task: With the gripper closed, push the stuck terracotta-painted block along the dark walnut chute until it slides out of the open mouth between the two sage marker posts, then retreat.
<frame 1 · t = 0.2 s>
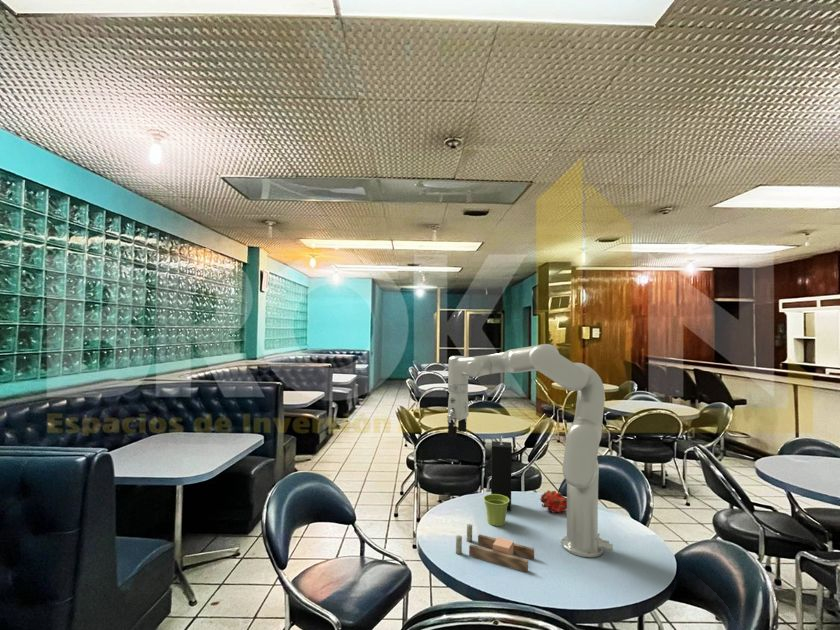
hand: (457, 433, 160), 31 cm above the table, fingers open, 9 cm apart
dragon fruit: (555, 511, 166), on the table
block: (503, 550, 131), point 2 cm above the table, slide at 0.0 cm
plant pot: (496, 523, 155), on the table
tall black pillar: (500, 506, 169), on the table
chute: (501, 557, 131), on the table
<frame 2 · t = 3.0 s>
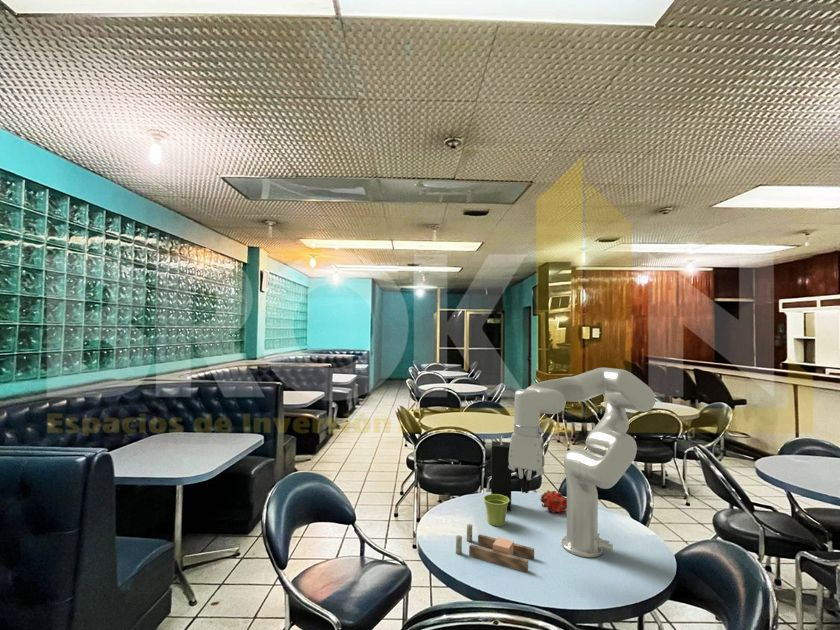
hand: (525, 491, 128), 22 cm above the table, fingers closed
nothing on the table moved.
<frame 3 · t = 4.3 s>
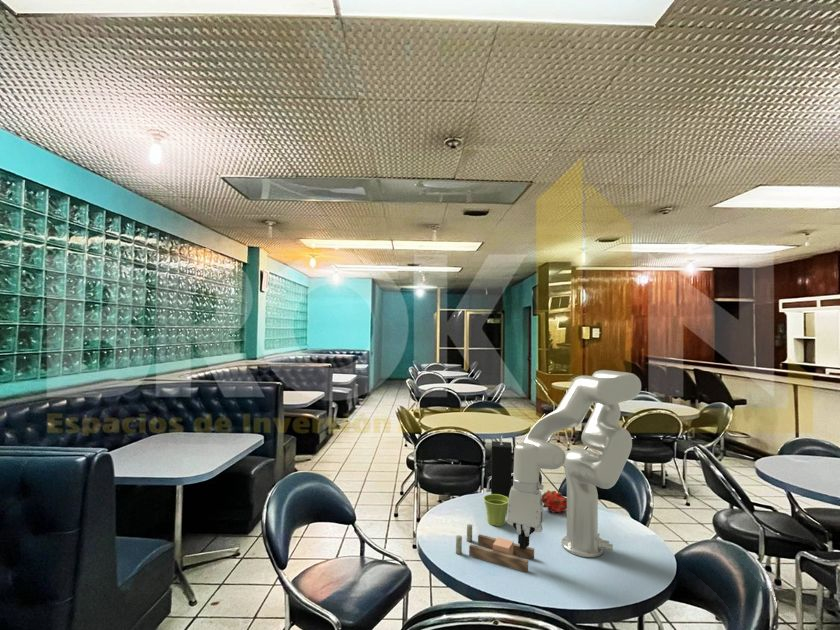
hand: (523, 547, 128), 5 cm above the table, fingers closed
nothing on the table moved.
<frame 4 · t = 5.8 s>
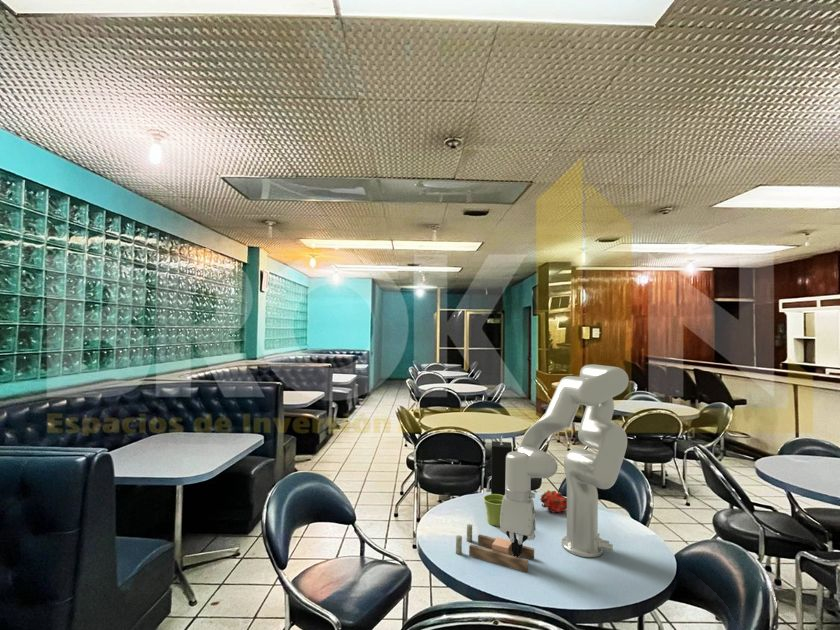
hand: (516, 554, 129), 2 cm above the table, fingers closed
block: (502, 549, 131), point 2 cm above the table, slide at 0.2 cm, touching gripper
everything else where it was.
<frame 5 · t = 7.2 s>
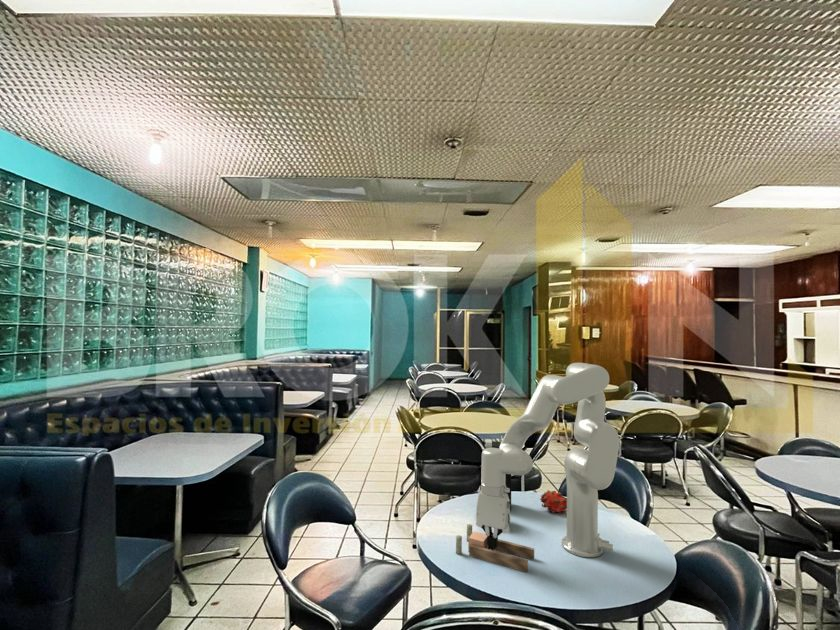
hand: (492, 548, 133), 2 cm above the table, fingers closed
block: (478, 543, 135), point 2 cm above the table, slide at 8.1 cm, touching gripper
everything else where it was.
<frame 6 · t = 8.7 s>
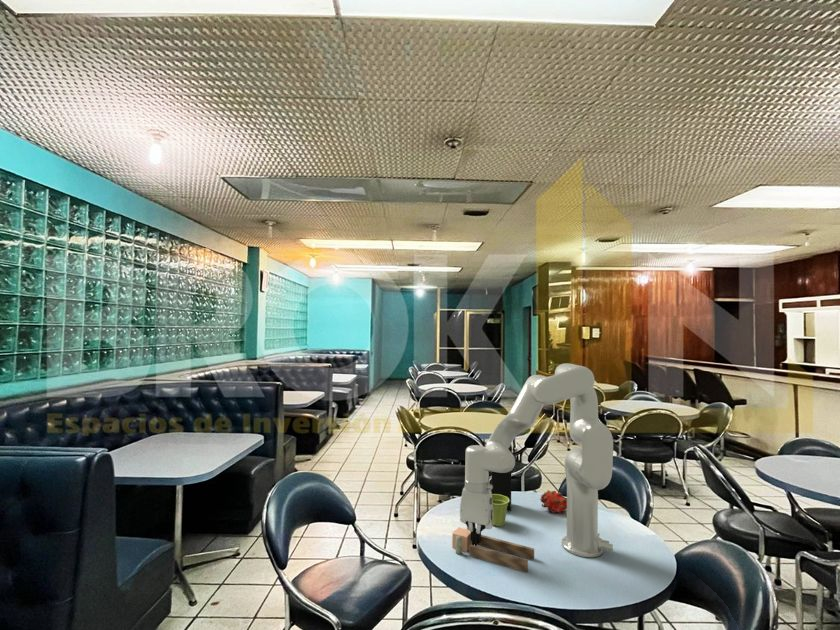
hand: (475, 543, 135), 2 cm above the table, fingers closed
block: (462, 539, 138), point 2 cm above the table, slide at 13.6 cm, touching gripper
everything else where it was.
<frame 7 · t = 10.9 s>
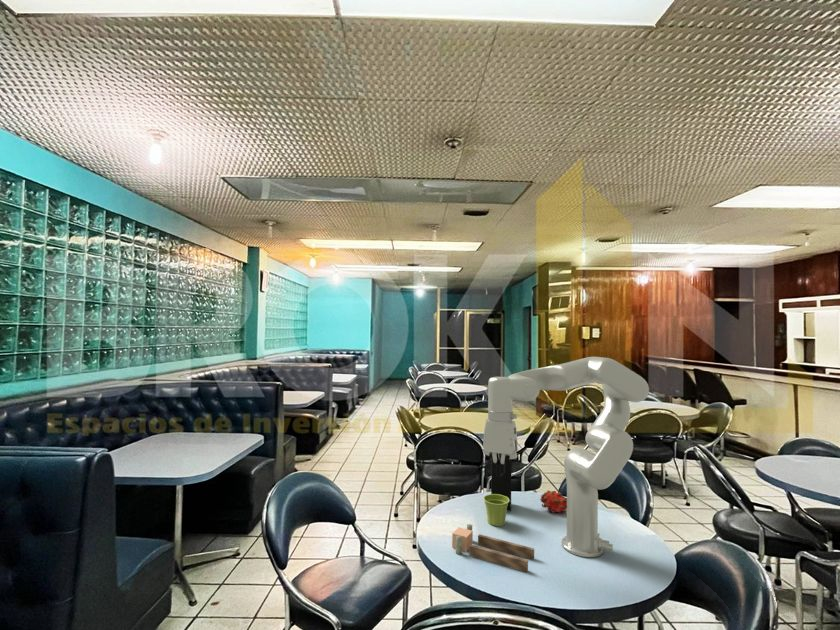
hand: (499, 475, 133), 25 cm above the table, fingers closed
block: (462, 539, 138), point 2 cm above the table, slide at 13.6 cm
everything else where it was.
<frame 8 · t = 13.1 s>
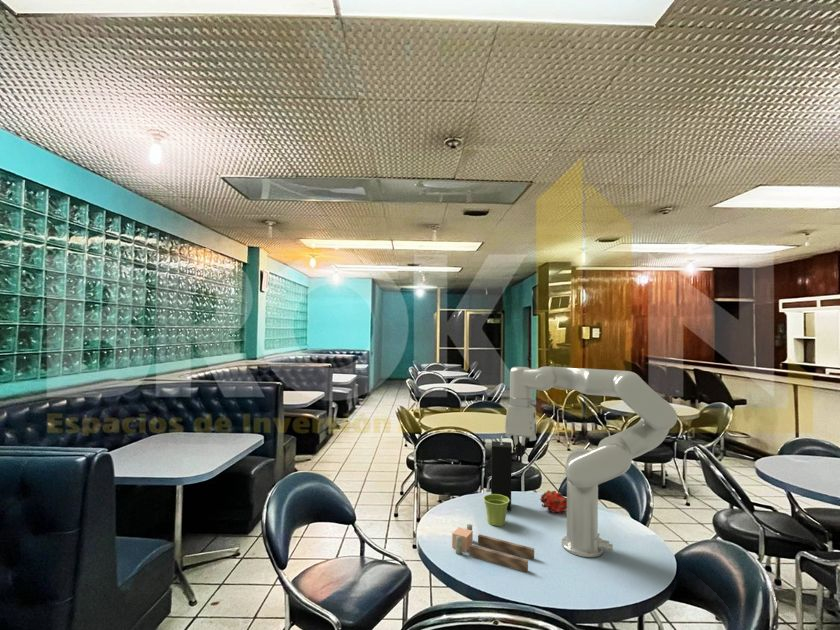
hand: (520, 455, 147), 27 cm above the table, fingers closed
nothing on the table moved.
at the end: block slide at 13.6 cm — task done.
